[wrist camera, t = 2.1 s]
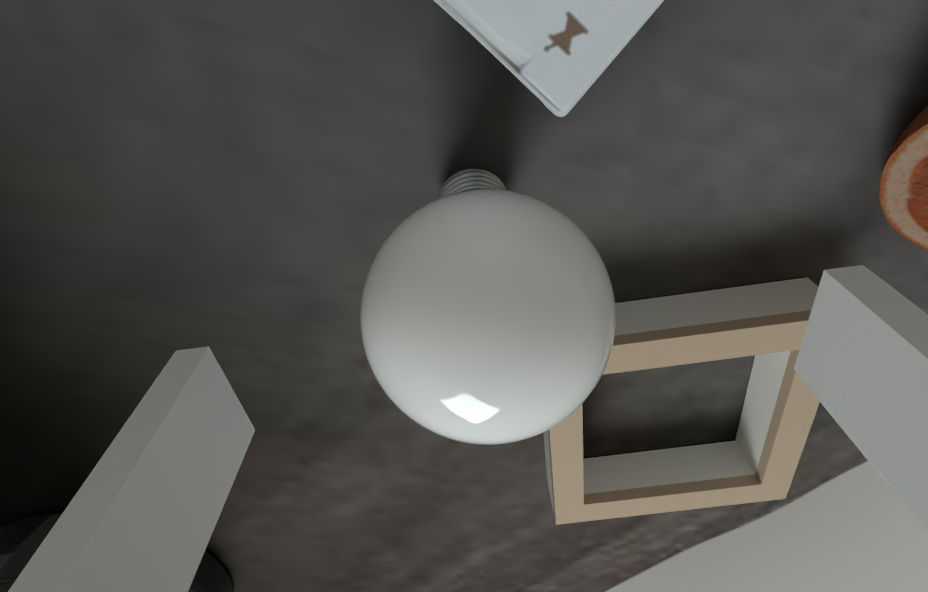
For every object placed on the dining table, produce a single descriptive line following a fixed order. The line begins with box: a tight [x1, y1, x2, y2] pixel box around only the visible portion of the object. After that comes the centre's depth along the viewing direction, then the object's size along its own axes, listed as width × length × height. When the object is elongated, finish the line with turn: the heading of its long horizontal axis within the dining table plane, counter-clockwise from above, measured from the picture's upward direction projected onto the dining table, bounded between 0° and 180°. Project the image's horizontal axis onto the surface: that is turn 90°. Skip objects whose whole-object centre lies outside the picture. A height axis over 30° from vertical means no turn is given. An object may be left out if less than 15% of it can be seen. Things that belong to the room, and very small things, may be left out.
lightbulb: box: [360, 169, 616, 445], centre depth 15 cm, size 6×6×11 cm
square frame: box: [543, 277, 820, 525], centre depth 25 cm, size 12×12×3 cm
